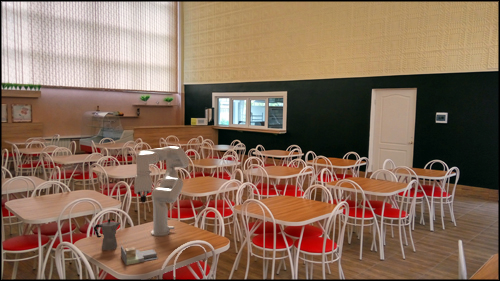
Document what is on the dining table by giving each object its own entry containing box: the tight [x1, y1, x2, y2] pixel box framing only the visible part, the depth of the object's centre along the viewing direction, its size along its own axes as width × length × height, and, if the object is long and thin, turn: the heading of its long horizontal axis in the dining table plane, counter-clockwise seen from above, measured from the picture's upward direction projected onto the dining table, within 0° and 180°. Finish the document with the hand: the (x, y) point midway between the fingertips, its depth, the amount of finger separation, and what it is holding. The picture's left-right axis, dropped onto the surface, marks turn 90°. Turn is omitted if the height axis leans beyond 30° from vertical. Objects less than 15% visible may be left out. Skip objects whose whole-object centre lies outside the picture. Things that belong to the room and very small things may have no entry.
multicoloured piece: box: [120, 245, 159, 266], centre depth 214 cm, size 18×14×6 cm
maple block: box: [124, 246, 137, 258], centre depth 211 cm, size 5×4×4 cm
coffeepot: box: [93, 218, 121, 251], centre depth 226 cm, size 15×9×18 cm, turn 119°
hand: (143, 202), depth 232 cm, fingers closed
